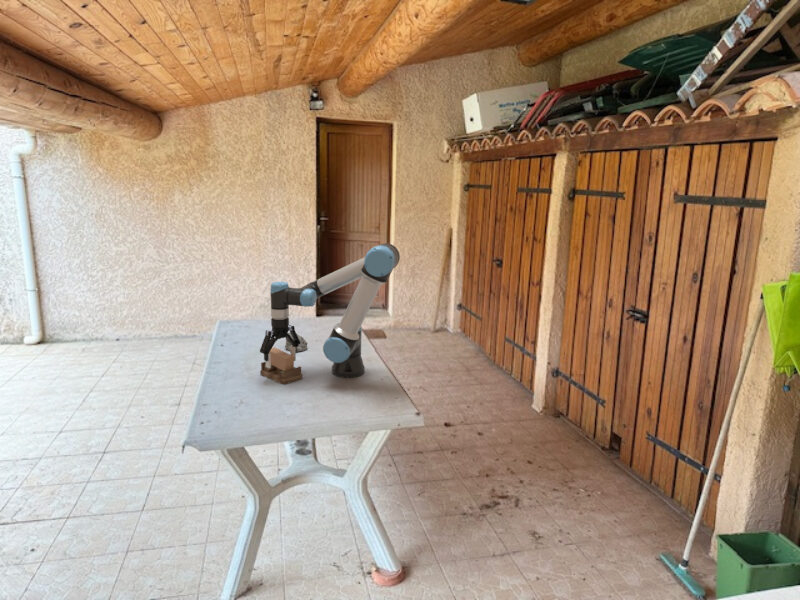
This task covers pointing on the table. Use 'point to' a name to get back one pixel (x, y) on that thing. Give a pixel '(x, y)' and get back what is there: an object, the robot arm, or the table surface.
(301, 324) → the table surface
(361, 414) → the table surface
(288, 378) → the stand
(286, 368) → the tan rectangular block
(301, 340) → the rock
